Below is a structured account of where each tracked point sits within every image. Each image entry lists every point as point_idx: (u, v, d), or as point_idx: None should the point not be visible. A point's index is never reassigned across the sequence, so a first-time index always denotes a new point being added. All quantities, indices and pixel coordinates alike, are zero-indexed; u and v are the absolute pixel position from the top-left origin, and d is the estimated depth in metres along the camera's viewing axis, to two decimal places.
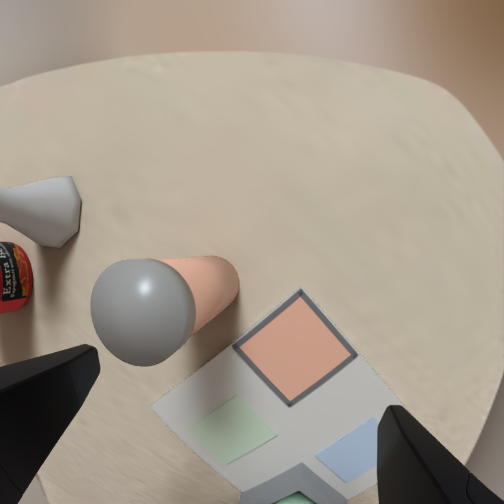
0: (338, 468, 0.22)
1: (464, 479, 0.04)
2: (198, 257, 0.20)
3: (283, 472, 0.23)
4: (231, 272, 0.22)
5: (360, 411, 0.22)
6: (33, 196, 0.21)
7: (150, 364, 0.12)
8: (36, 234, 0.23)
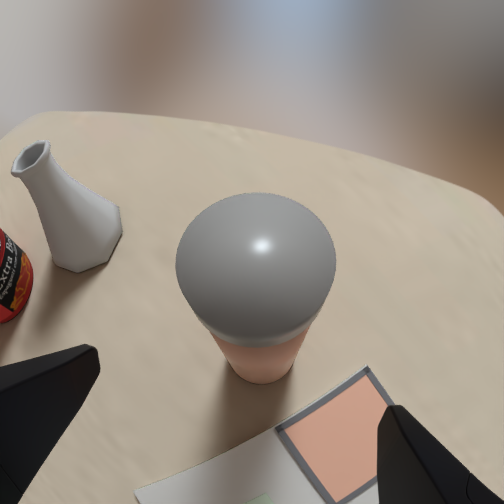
0: None
1: (464, 479, 0.04)
2: None
3: None
4: None
5: None
6: (80, 194, 0.20)
7: (266, 331, 0.07)
8: (62, 239, 0.20)
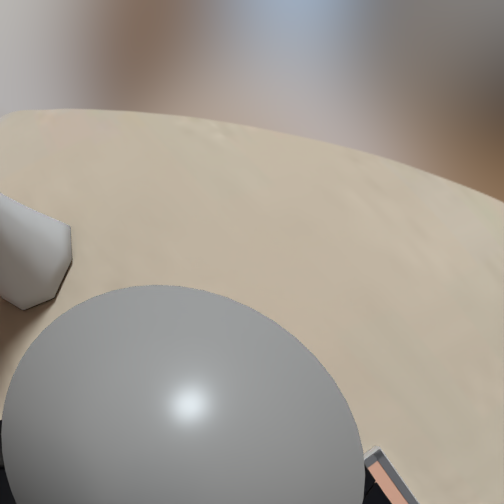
0: None
1: (364, 488, 0.04)
2: None
3: None
4: None
5: None
6: (14, 217, 0.14)
7: None
8: None
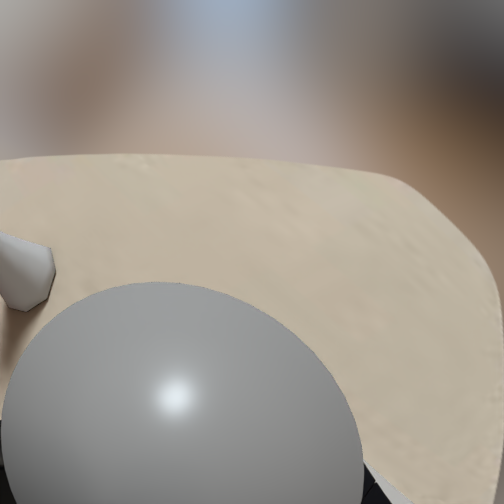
0: None
1: (364, 488, 0.04)
2: None
3: None
4: None
5: None
6: (14, 247, 0.21)
7: None
8: (7, 286, 0.21)
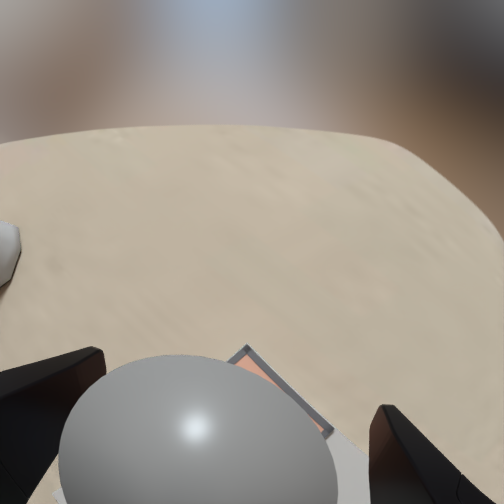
0: None
1: (455, 481, 0.04)
2: None
3: None
4: None
5: None
6: None
7: None
8: None
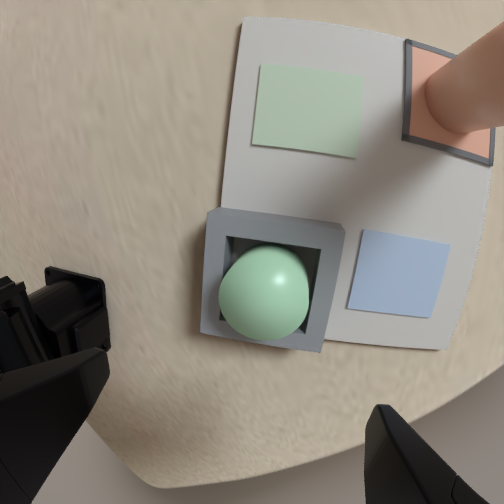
0: (364, 274, 0.18)
1: (450, 481, 0.04)
2: None
3: (306, 218, 0.18)
4: None
5: (447, 224, 0.17)
6: None
7: None
8: None
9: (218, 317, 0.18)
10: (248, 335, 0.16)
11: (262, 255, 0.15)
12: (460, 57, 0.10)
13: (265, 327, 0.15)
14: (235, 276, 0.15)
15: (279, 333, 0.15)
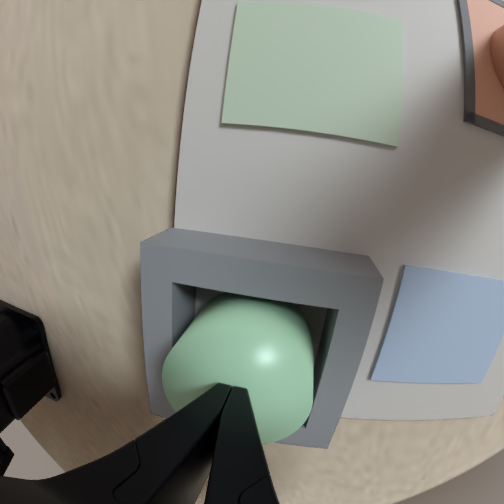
0: (400, 334, 0.11)
1: (252, 479, 0.04)
2: None
3: (312, 247, 0.11)
4: None
5: None
6: None
7: None
8: None
9: None
10: None
11: (231, 325, 0.08)
12: None
13: None
14: (184, 357, 0.08)
15: (263, 438, 0.09)
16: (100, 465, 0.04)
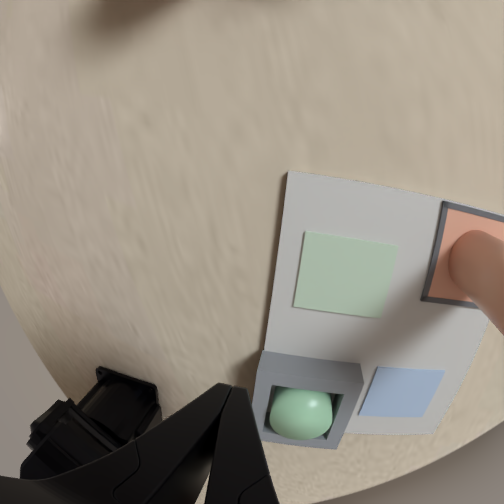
0: (374, 395, 0.21)
1: (252, 479, 0.04)
2: None
3: (333, 360, 0.21)
4: None
5: (445, 357, 0.20)
6: None
7: None
8: None
9: (261, 430, 0.21)
10: (288, 437, 0.20)
11: (302, 395, 0.19)
12: (489, 268, 0.13)
13: (300, 433, 0.20)
14: (282, 408, 0.19)
15: (310, 436, 0.20)
16: (100, 465, 0.04)
